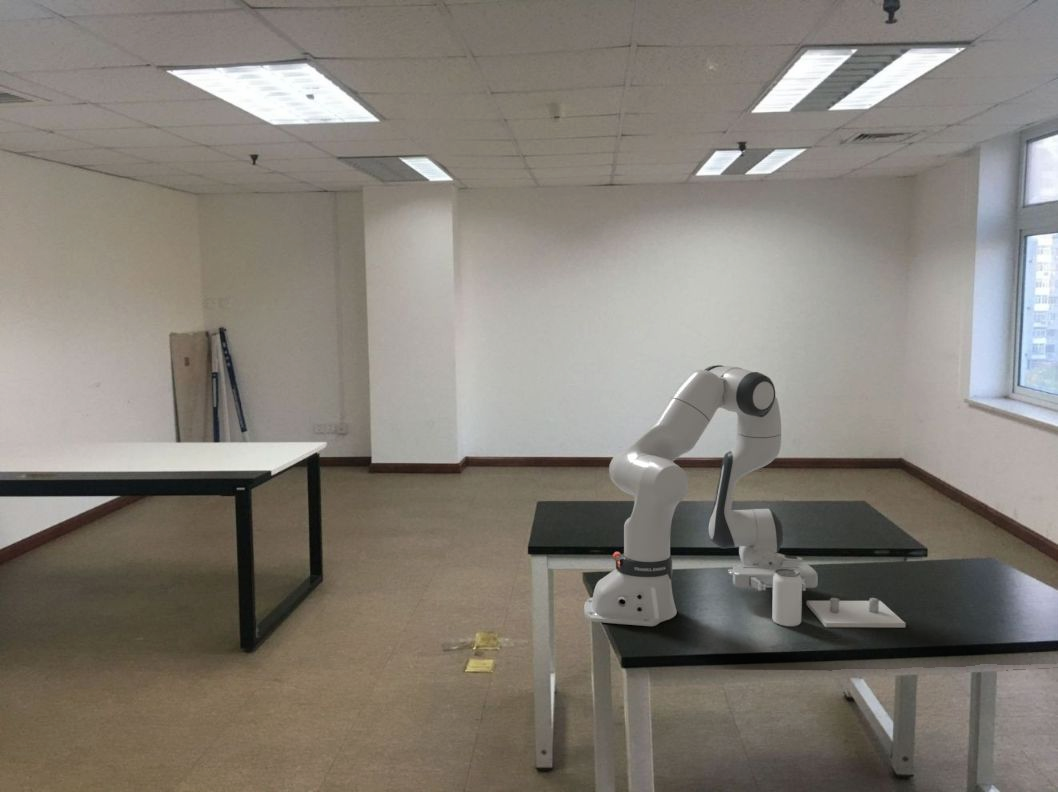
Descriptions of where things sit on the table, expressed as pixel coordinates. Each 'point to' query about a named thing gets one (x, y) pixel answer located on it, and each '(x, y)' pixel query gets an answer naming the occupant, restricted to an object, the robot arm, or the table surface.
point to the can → (787, 597)
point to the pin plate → (854, 613)
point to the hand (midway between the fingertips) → (782, 587)
